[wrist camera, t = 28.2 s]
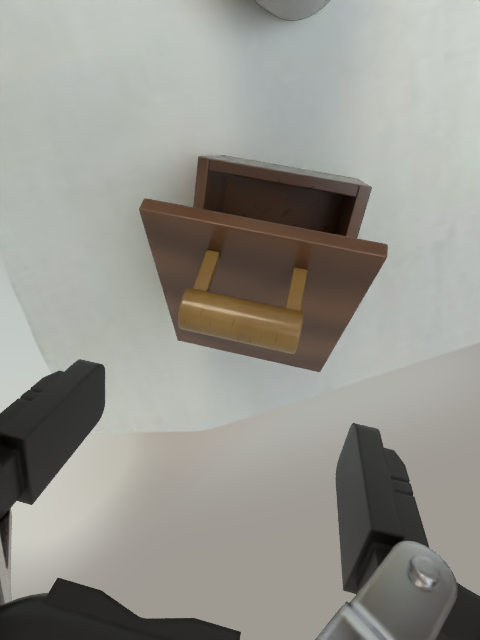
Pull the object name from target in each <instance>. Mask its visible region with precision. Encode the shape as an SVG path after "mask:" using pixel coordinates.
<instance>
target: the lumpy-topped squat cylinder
mask: <svg viewBox="0 0 480 640" xmlns="http://www.w3.org/2000/svg"><path fill="white" fill-rule="evenodd" d="M255 1H256V2H257V3H258V4H259V5H261V6H262V7H263V8H264V9H266V10H267V11H269V12H270V13H272V14H273V15H275V16H277V17H279V18H282V19H285V20H300V19H304V18H307V17H309V16H312V15H313V14H315V13H316V12H318V11H319V10H320V9H322V8H323V7H324V6H325V5H326V4H327V3H328V2H329V1H330V0H255Z"/></svg>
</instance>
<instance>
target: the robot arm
mask: <svg viewBox="0 0 480 640" xmlns="http://www.w3.org/2000/svg"><path fill="white" fill-rule="evenodd" d="M104 407H105V368H104V366H103V365H102V364H98V363H94V362H89V361H85V360H81V359H80V360H77V361H76V362H75V363H74V364H73V365H71V366H70V367H69V368H68V369H67V370H66V371H65V372H63V371H57V372H55V373H53V374H51V375H48V376H46V377H44V378H42V379H41V380H40V381H39V382H38V383H36V384H35V385H34V386H33V387H31V390H28V391H27V392H26V393H24V394H23V395H22V396H21V398H20V399H17V400H16V401H15V402H14V403H12V404H11V405H10V406H9V407H8V408H6V409H5V410H4V411H3V412H2V413H0V640H240V634H241V632H239V631H236V630H232V629H229V628H226V627H222V626H219V625H216V624H212V623H209V622H205V621H202V620H199V619H195V618H172V619H171V618H165V619H145V618H141V617H139V616H137V615H135V614H134V613H133V612H131V611H130V610H128V609H127V608H125V607H124V606H123V605H121V604H119V603H118V602H117V601H115V600H114V599H113V598H111V597H110V596H108V595H107V594H105V593H104V592H103V591H101V590H97V589H94V588H91V587H88V586H84V585H80V584H77V583H74V582H71V581H67V580H64V579H61V578H57V580H56V581H55V583H54V585H53V586H52V588H51V590H50V591H49V593H43V594H37V595H30V596H26V597H22V598H19V599H16V600H13V601H12V597H11V581H10V580H11V529H12V528H11V527H12V513H11V507H12V505H13V504H14V503H15V502H16V501H20V502H23V503H27V504H31V505H32V504H33V503H34V502H35V501H36V499H37V498H38V497H39V496H40V494H41V493H42V492H43V491H44V489H45V488H46V486H48V484H49V483H50V482H51V480H52V479H53V478H54V477H55V475H56V474H57V473H58V472H59V470H60V469H61V468H62V467H63V465H64V464H65V463H66V462H67V460H68V459H69V458H70V457H71V455H72V454H73V453H74V452H75V450H76V449H77V448H78V446H79V445H80V444H81V443H82V442H83V440H84V439H85V438H86V436H87V435H88V434H89V433H90V432H91V430H92V429H93V428H94V427H95V425H96V424H97V423H98V421H99V420H100V418H101V416H102V414H103V411H104ZM336 491H337V506H338V521H339V535H340V549H341V564H342V578H343V590H344V591H348V592H352V593H355V594H356V596H355V597H354V598H353V599H352V601H351V602H350V603H348V602H346V603H345V604H344V605H343V606H342V607H341V608H340V609H339V610H338V612H337V613H336V614H335V615H334V617H333V618H332V619H331V620H330V622H329V623H328V624H327V625H326V627H325V628H324V629H323V630H322V632H321V633H320V634H319V636H318V637H317V638H316V639H315V640H480V596H478V595H476V594H475V593H473V592H471V591H470V590H467V589H466V588H464V587H463V586H461V585H460V584H458V583H457V582H456V579H455V577H454V575H453V572H452V571H451V569H450V567H449V566H448V565H447V564H446V562H445V561H444V560H443V559H442V558H441V557H440V556H439V555H438V554H436V553H435V552H434V551H433V550H431V549H430V548H429V545H428V542H427V538H426V535H425V532H424V528H423V525H422V521H421V518H420V515H419V511H418V508H417V505H416V501H415V498H414V497H413V491H412V487H411V484H410V483H409V477H408V474H407V471H406V467H405V465H404V463H403V462H402V460H401V459H400V458H399V456H398V455H397V454H396V453H395V451H394V450H390V449H386V448H383V443H382V439H381V435H380V431H379V430H378V429H376V428H372V427H368V426H364V425H359V424H355V423H353V424H352V425H351V427H350V429H349V432H348V435H347V438H346V440H345V443H344V446H343V449H342V452H341V454H340V457H339V460H338V464H337V470H336Z"/></svg>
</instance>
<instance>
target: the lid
mask: <svg viewBox="0 0 480 640" xmlns="http://www.w3.org/2000/svg"><path fill="white" fill-rule="evenodd" d="M139 211H140V214H141V218H142V221H143V225H144V228H145V231H146V235H147V238H148V241H149V245H150V248H151V251H152V255H153V258H154V262H155V265H156V268H157V272H158V275H159V278H160V282H161V285H162V289H163V292H164V295H165V299H166V302H167V305H168V309H169V312H170V315H171V319H172V322H173V326H174V329H175V332H176V336H177V339H178V340H179V341H184V342H188V343H193V344H197V345H201V346H206V347H210V348H215V349H219V350H224V351H228V352H233V353H237V354H241V355H246V356H250V357H255V358H259V359H264V360H268V361H273V362H277V363H281V364H286V365H290V366H295V367H299V368H304V369H308V370H312V371H317V372H320V371H321V369H322V367H323V366H324V364H325V362H326V361H327V359H328V357H329V356H330V354H331V352H332V350H333V349H334V347H335V345H336V344H337V342H338V340H339V338H340V337H341V335H342V333H343V332H344V330H345V328H346V326H347V325H348V323H349V321H350V320H351V318H352V316H353V315H354V313H355V311H356V309H357V308H358V306H359V304H360V303H361V301H362V299H363V297H364V296H365V294H366V292H367V291H368V289H369V287H370V285H371V284H372V282H373V280H374V279H375V277H376V275H377V274H378V272H379V270H380V268H381V267H382V265H383V263H384V262H385V260H386V258H387V250H388V245H387V244H383V243H377V242H372V241H367V240H362V239H356V238H351V237H346V236H341V235H335V234H330V233H325V232H320V231H314V230H309V229H304V228H299V227H293V226H288V225H283V224H278V223H272V222H267V221H262V220H257V219H251V218H246V217H241V216H236V215H230V214H225V213H220V212H215V211H209V210H204V209H199V208H194V207H188V206H183V205H178V204H173V203H167V202H162V201H157V200H152V199H146V198H145V199H144V200H143V202H142V204H141V206H140V208H139Z"/></svg>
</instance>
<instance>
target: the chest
mask: <svg viewBox="0 0 480 640" xmlns="http://www.w3.org/2000/svg"><path fill="white" fill-rule="evenodd" d="M371 189H372V187H371V186H369V185H367V184H366V183H364V182H362V181H360V180H359V179H355V178H350V177H344V176H338V175H333V174H327V173H321V172H316V171H310V170H304V169H299V168H293V167H287V166H281V165H276V164H270V163H264V162H259V161H253V160H247V159H242V158H236V157H230V156H225V155H220V156H199V157H198V166H197V176H196V186H195V196H194V206H193V207H194V208H199V209H204V210H209V211H215V212H220V213H225V214H230V215H236V216H241V217H246V218H251V219H257V220H262V221H267V222H272V223H278V224H283V225H288V226H293V227H299V228H304V229H309V230H314V231H320V232H325V233H330V234H335V235H341V236H346V237H351V238H356V239H357V237H358V233H359V230H360V227H361V223H362V220H363V216H364V213H365V209H366V206H367V202H368V199H369V195H370V192H371Z"/></svg>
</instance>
